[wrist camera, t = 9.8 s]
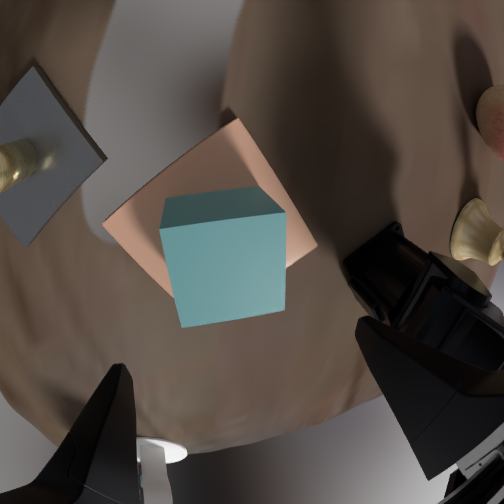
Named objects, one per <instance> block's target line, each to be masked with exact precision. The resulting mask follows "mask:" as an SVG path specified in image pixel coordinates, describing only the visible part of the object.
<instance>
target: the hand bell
mask: <svg viewBox="0 0 504 504" xmlns="http://www.w3.org/2000/svg"><path fill="white" fill-rule="evenodd" d="M450 251H451V254H452V256H453V258H454V259H456V260H465V259H467V258H475V259H478V260H481V261H483V262H485V263H487V264H489V265H495V264H496V263H498V262H499V261H500V260H503V261H504V229H502V228H501V227H500V226H499V225H498V224H496V223H495V222H494V221H493V219H492V218H491V217H490V216H489V214H488V212H487V208H486V206H485V204H484V202H483V201H482V200H481V199H479V198H474V199H472V200H470V201H469V202H468V203H467V204H466V205H465V206H464V207H463V209H462V210H461V212H460V214H459V216H458V218H457V219H456V222H455V225H454V228H453V231H452V235H451V241H450Z"/></svg>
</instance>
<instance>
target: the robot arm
mask: <svg viewBox="0 0 504 504" xmlns="http://www.w3.org/2000/svg"><path fill="white" fill-rule="evenodd" d="M396 226H397V227H396ZM395 228H396V229H395ZM349 262H350V264H348V263H349ZM343 264H344V267H345V269H346V271H347V273H348V275H349V277H350V279H351V280H349V286H350V288H351V290H352V292H353V294H354V296H355V298H356V300H357V301H358V302H359V303H360V304H361V306H362V307H363V308H364V309H365V310H366V311H367V313H368V314H369V315H370V316H364V317H361V318H359V319H358V322H357V326H356V330H355V337H356V340H357V342H358V344H359V347H360V349H361V351H362V354H363V356H364V358H365V361H366V363H367V365H368V367H369V369H370V371H371V373H372V375H373V377H374V378H375V380H376V382H377V384H378V386H379V387H380V389H381V391H382V393H383V395H384V396H385V398H386V400H387V402H388V404H389V406H390V407H391V409H392V411H393V413H394V415H395V416H396V419H397V420H398V422H399V424H400V426H401V428H402V430H403V432H404V434H405V436H406V437H407V440H408V442H409V443H410V446H411V448H412V449H413V452H414V454H415V456H416V458H417V460H418V462H419V464H420V466H421V468H422V470H423V472H424V474H425V476H426V478H427V480H428V481H429V480H431V479H432V478H434V477H436V476H437V475H439V474H440V473H442V472H443V471H445V470H446V469H448V468H449V467H450V466H452V465H453V464H455V463H456V464H457V466H458V469H457V470H455V471H454V472H453V473H452V474H450V478H449V482H448V485H447V489H446V492H445V496H444V499H443V500H442V501H440V502H439V503H438V504H504V316H503V313H502V311H501V310H500V309H499V308H498V307H497V306H496V305H494V304H493V303H492V302H490V300H491V298H492V295H491V293H490V292H489V291H488V289H487V288H486V287H485V285H484V284H483V283H482V281H481V280H480V279H479V277H478V276H477V275H476V274H475V273H474V272H473V271H472V270H470V269H469V268H467V267H466V266H465V265H463V264H462V263H460V262H459V261H457V260H455V259H452V258H449V257H447V256H444V255H441V254H438V253H435V252H432V251H429V253H426V252H425V251H423V250H422V249H421V248H419V247H418V246H416V245H415V244H414V243H412V242H411V241H409V240H408V239H406V238H405V237H404V233H403V230H402V226H401V224H400V223H398V222H397V221H395V222H393V223H392V224H391V225H389V226H388V227H387V228H386V229H384V230H383V231H382V232H380V233H379V234H378V235H376V236H375V237H374V238H373V239H371V240H370V241H369V242H367V243H366V244H365V245H363V246H362V247H361V248H359V249H358V250H357V251H355V252H354V253H353V254H351V255H350V256H348V257H347V258H346V259H345V260H344V263H343ZM383 322H384V323H383ZM0 504H140V495H139V483H138V469H137V441H136V410H135V401H134V389H133V380H132V377H131V375H130V373H129V371H128V370H127V368H126V366H125V365H124V364H123V363H119V364H113V365H112V366H111V368H110V369H109V371H108V372H107V374H106V375H105V377H104V378H103V380H102V381H101V383H100V384H99V386H98V387H97V389H96V390H95V392H94V393H93V395H92V396H91V398H90V399H89V401H88V402H87V404H86V405H85V407H84V409H83V410H82V412H81V413H80V415H79V416H78V418H77V419H76V421H75V423H74V424H73V426H72V427H71V429H70V432H68V434H67V435H66V437H65V439H64V440H63V442H62V443H61V445H60V446H59V448H58V449H57V451H56V452H55V453H54V455H53V456H52V458H51V459H50V460H49V461H48V463H47V464H46V466H45V467H44V468H43V469H42V471H41V472H40V473H39V475H38V476H37V477H36V478H35V479H34V480H33V481H32V482H31V483H29V484H27V485H25V486H22V487H19V488H16V489H13V490H10V491H7V492H4V493H0Z"/></svg>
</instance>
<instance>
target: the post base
mask: <svg viewBox="0 0 504 504" xmlns="http://www.w3.org/2000/svg"><path fill="white" fill-rule="evenodd" d="M107 159H108V158H107V157H106V155H105V154H104V153H103V152H102V150H101V149H100V148H99V147H98V145H97V144H96V143H95V141H94V140H93V139H92V137H91V136H90V135H89V134H88V132H87V131H86V130H85V128H84V127H83V126H82V124H81V123H80V122H79V120H78V119H77V118H76V116H75V115H74V114H73V112H72V111H71V110H70V108H69V107H68V105H67V104H66V103H65V101H64V100H63V99H62V97H61V96H60V94H59V93H58V92H57V90H56V89H55V87H54V86H53V84H52V83H51V82H50V80H49V79H48V77H47V76H46V74H45V73H44V71H43V70H42V69H41V68H40V67H36V66H32V68H31V69H30V70H29V71H28V72H27V73H26V74H25V75H24V77H23V78H22V79H21V80H20V81H19V82H18V84H17V85H16V86H15V87H14V89H13V90H12V91H11V92H10V94H9V95H8V96H7V98H6V99H5V100H4V102H3V103H2V104H1V106H0V217H1V218H2V219H3V221H4V222H5V223H6V225H7V226H8V227H9V228H10V230H11V231H12V232H13V233H14V234H15V236H16V237H17V238H18V239H19V240H20V242H21V243H22V244H23V245H24V246H25V247H26V248H27V247H28V246H29V245H30V243H31V242H32V241H33V240H34V239H35V237H36V236H37V235H38V234H39V232H40V231H41V230H42V229H43V227H44V226H45V225H46V224H47V222H48V221H49V220H50V219H51V218H52V216H53V215H54V214H55V213H56V212H57V211H58V210H59V208H60V207H61V206H62V205H63V204H64V203H65V202H66V201H67V199H68V198H69V197H70V196H71V195H72V194H73V193H74V192H75V191H76V190H77V189H78V188H79V187H80V186H81V185H82V183H83V182H84V181H85V180H86V179H87V178H88V177H89V176H90V175H91V174H92V173H93V172H94V171H95V170H96V169H98V168H99V166H101V165H102V164H103V163H104V162H105V161H106V160H107Z"/></svg>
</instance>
